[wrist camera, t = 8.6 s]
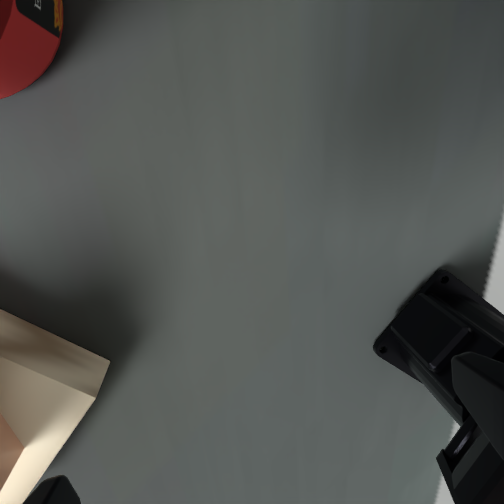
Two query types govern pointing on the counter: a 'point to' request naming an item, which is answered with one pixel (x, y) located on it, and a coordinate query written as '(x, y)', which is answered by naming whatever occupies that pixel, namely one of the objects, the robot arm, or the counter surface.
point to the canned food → (27, 41)
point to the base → (42, 396)
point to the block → (8, 450)
